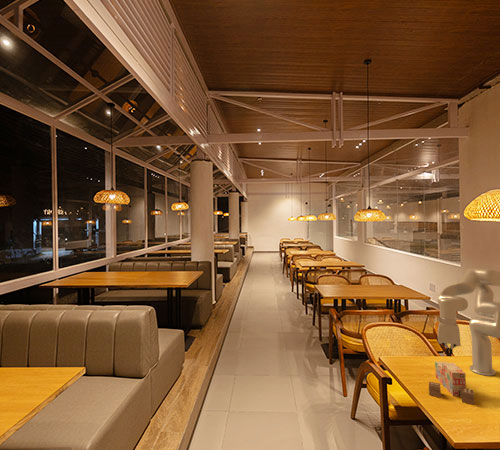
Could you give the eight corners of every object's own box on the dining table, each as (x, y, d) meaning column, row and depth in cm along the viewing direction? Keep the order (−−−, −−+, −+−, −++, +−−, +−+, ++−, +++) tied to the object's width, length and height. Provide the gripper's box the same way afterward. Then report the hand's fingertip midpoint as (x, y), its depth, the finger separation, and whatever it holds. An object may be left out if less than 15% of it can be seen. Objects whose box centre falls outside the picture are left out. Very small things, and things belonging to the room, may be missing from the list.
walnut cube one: (429, 390, 167) (429, 381, 167) (440, 393, 165) (440, 383, 165) (429, 395, 163) (428, 384, 163) (440, 397, 160) (440, 387, 161)
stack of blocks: (435, 377, 182) (434, 356, 183) (447, 378, 181) (446, 356, 182) (453, 396, 161) (452, 372, 162) (466, 397, 160) (465, 372, 161)
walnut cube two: (461, 397, 160) (461, 387, 160) (473, 400, 157) (473, 389, 158) (461, 402, 156) (461, 391, 156) (474, 404, 153) (474, 394, 153)
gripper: (432, 321, 172) (433, 355, 172) (465, 324, 164) (466, 360, 164) (432, 318, 179) (433, 350, 178) (464, 321, 171) (465, 355, 170)
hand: (449, 355), depth 171 cm, fingers closed
